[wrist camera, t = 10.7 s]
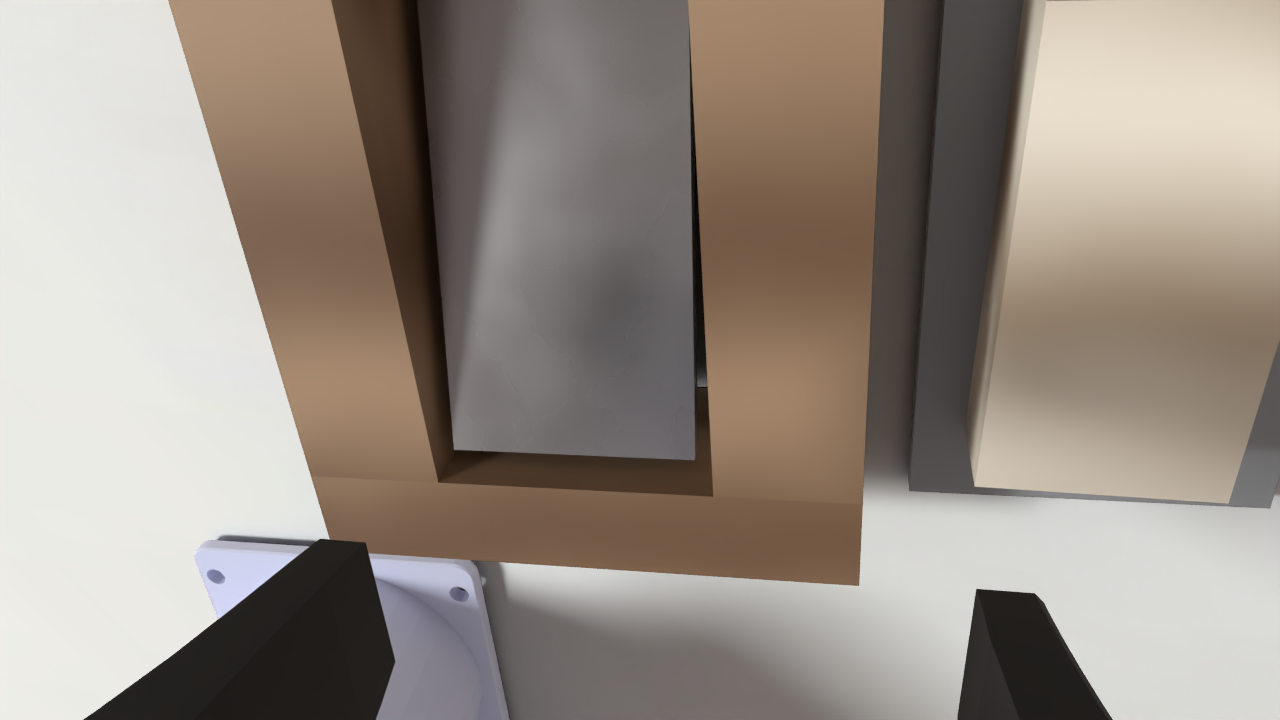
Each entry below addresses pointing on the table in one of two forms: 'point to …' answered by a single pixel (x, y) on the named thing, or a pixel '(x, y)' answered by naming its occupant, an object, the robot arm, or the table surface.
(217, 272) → the table surface
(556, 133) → the tipping switch rocker
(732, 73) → the walnut board
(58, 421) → the table surface
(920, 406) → the slate mat
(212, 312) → the table surface
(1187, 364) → the birch bar
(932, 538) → the table surface
